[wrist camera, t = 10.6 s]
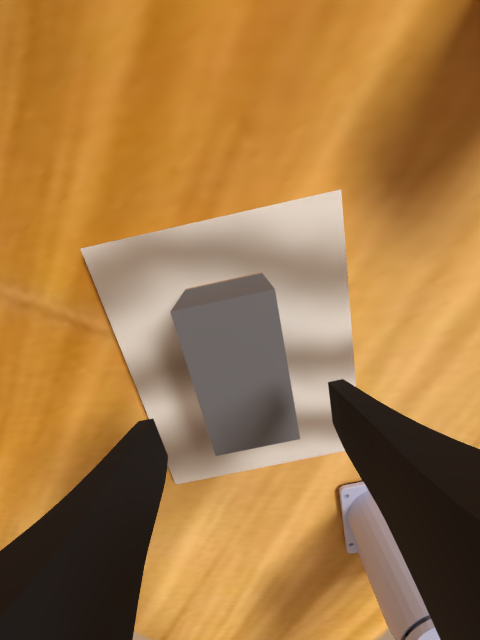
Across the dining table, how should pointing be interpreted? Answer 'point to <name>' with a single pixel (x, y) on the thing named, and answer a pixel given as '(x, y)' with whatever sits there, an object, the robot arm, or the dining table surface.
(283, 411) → the block
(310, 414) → the board
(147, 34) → the dining table surface
